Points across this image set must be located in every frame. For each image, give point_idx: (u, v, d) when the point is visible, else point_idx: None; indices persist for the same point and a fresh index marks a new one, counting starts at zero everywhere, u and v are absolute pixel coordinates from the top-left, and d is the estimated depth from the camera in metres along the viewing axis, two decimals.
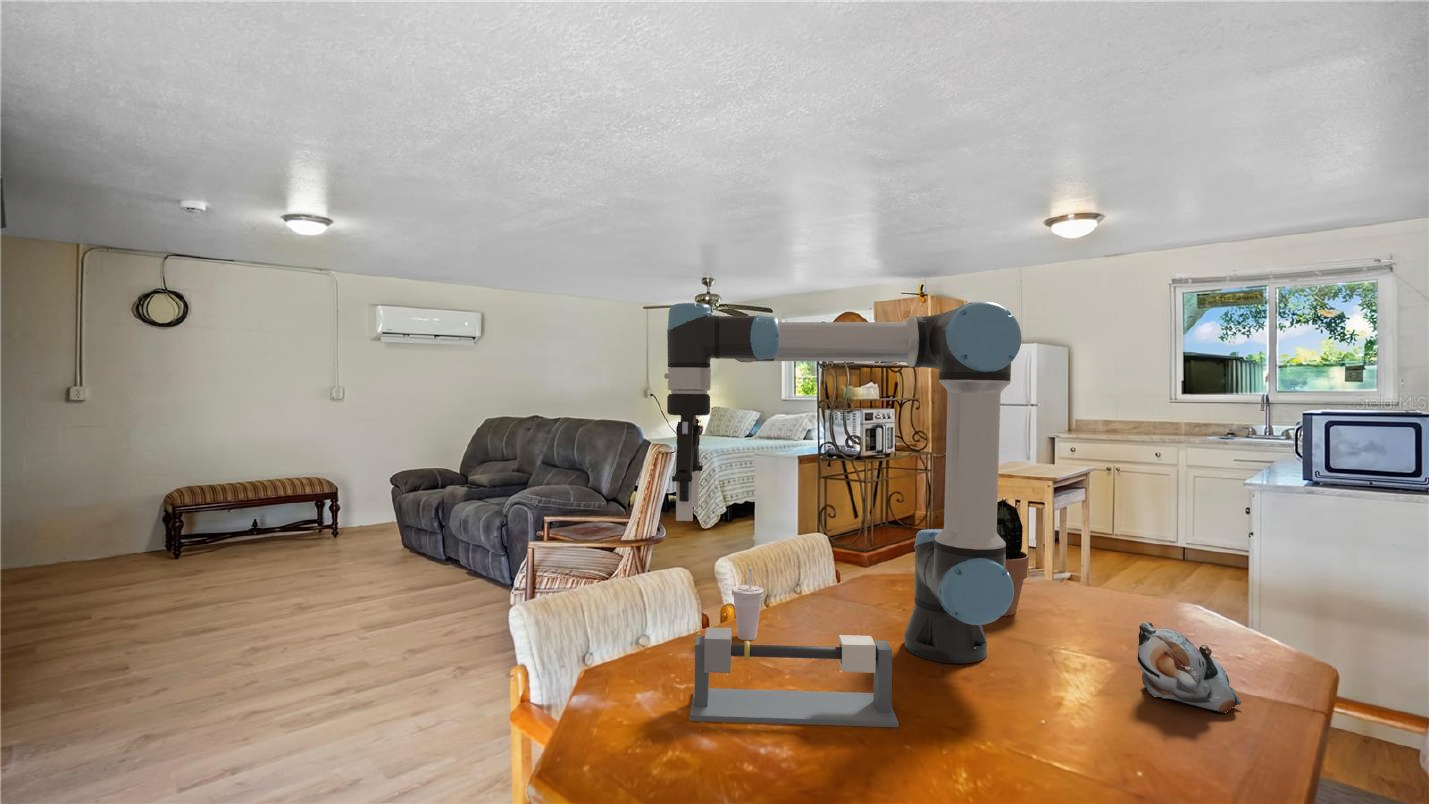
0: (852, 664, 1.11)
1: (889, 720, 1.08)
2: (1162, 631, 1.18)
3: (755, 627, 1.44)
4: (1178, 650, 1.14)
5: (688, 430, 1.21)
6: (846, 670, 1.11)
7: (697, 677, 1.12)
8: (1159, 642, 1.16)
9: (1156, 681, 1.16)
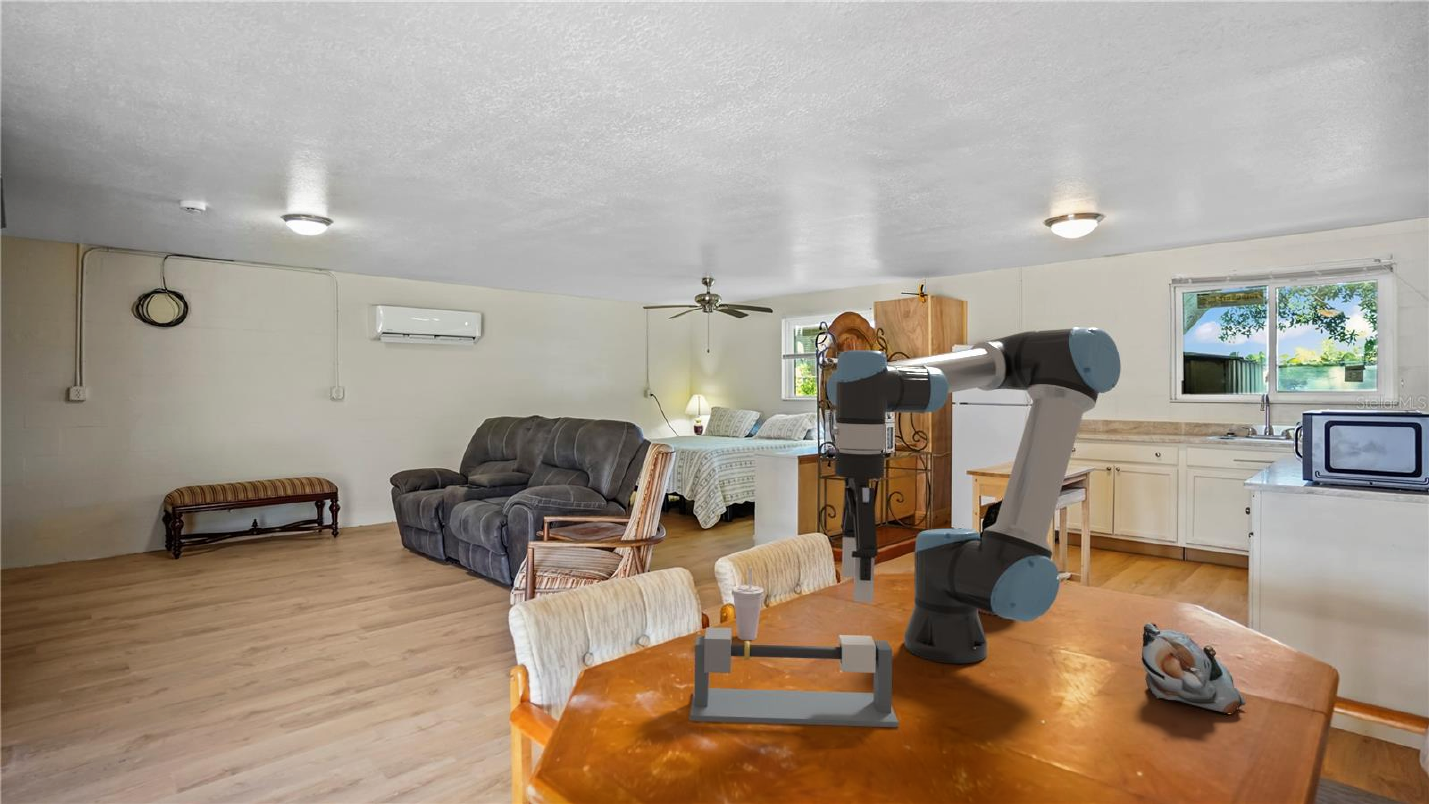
0: (852, 664, 1.11)
1: (889, 720, 1.08)
2: (1166, 632, 1.18)
3: (755, 627, 1.44)
4: (1183, 651, 1.14)
5: (870, 498, 1.05)
6: (846, 670, 1.11)
7: (697, 677, 1.12)
8: (1164, 643, 1.16)
9: (1161, 682, 1.15)
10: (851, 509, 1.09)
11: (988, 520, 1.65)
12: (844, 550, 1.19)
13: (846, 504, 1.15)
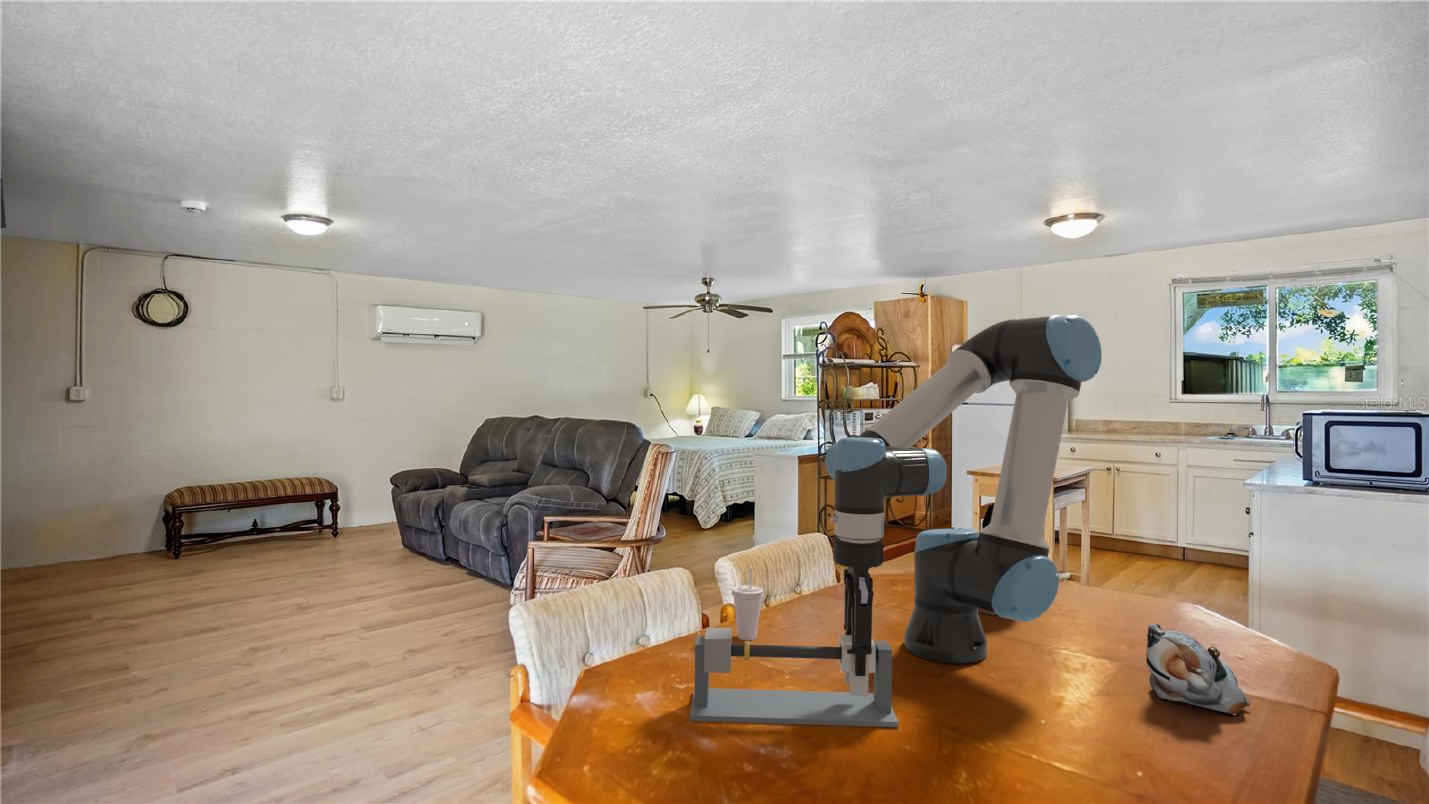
0: None
1: (889, 720, 1.08)
2: (1171, 633, 1.17)
3: (755, 627, 1.44)
4: (1188, 652, 1.13)
5: (868, 601, 1.06)
6: (846, 670, 1.11)
7: (697, 677, 1.12)
8: (1169, 644, 1.15)
9: (1166, 683, 1.15)
10: (849, 602, 1.10)
11: (988, 520, 1.65)
12: None
13: (846, 592, 1.14)
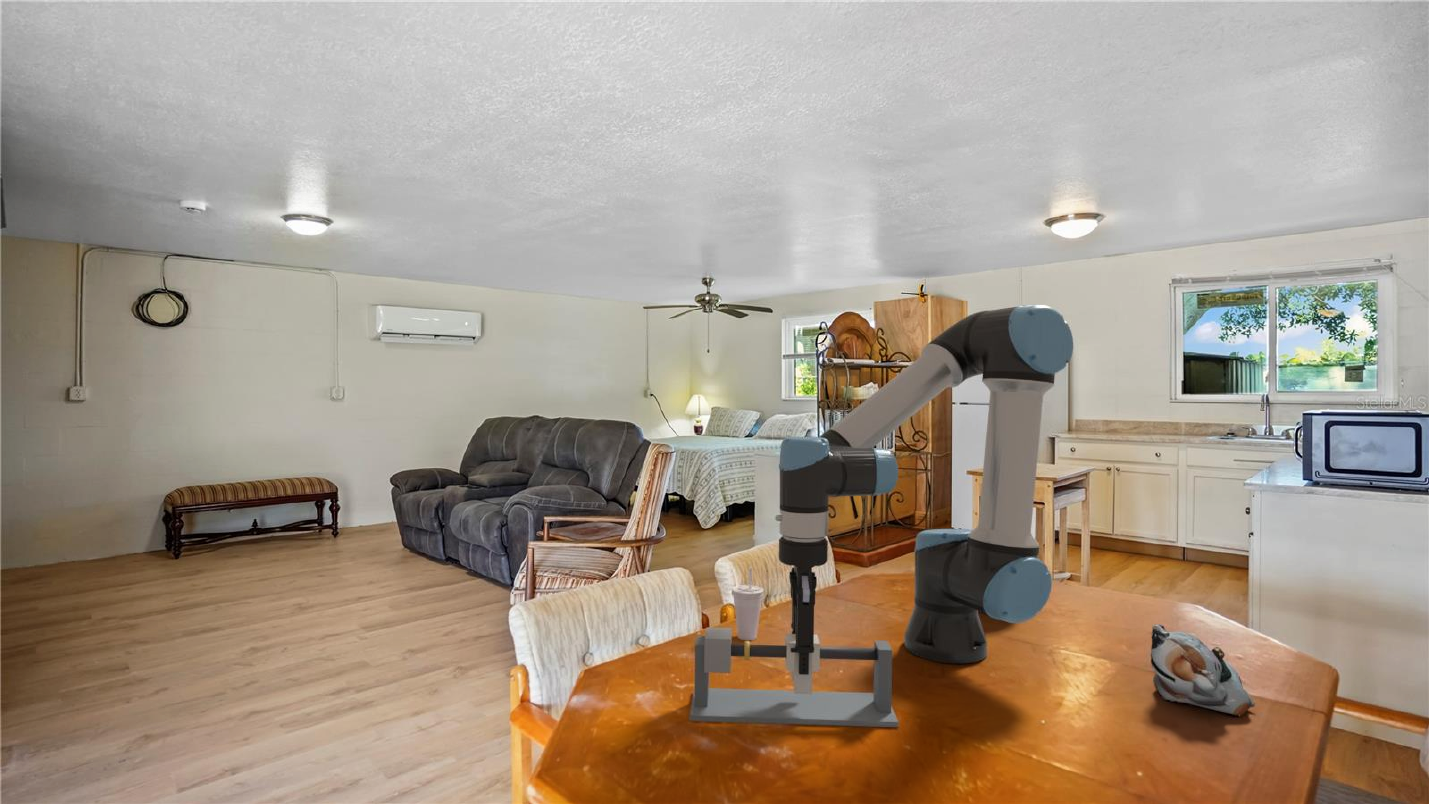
0: None
1: (889, 720, 1.08)
2: (1176, 634, 1.17)
3: (755, 627, 1.44)
4: (1193, 653, 1.13)
5: (810, 600, 1.07)
6: (790, 668, 1.11)
7: (697, 677, 1.12)
8: (1174, 645, 1.15)
9: (1171, 685, 1.14)
10: (793, 601, 1.11)
11: None
12: None
13: (792, 591, 1.14)
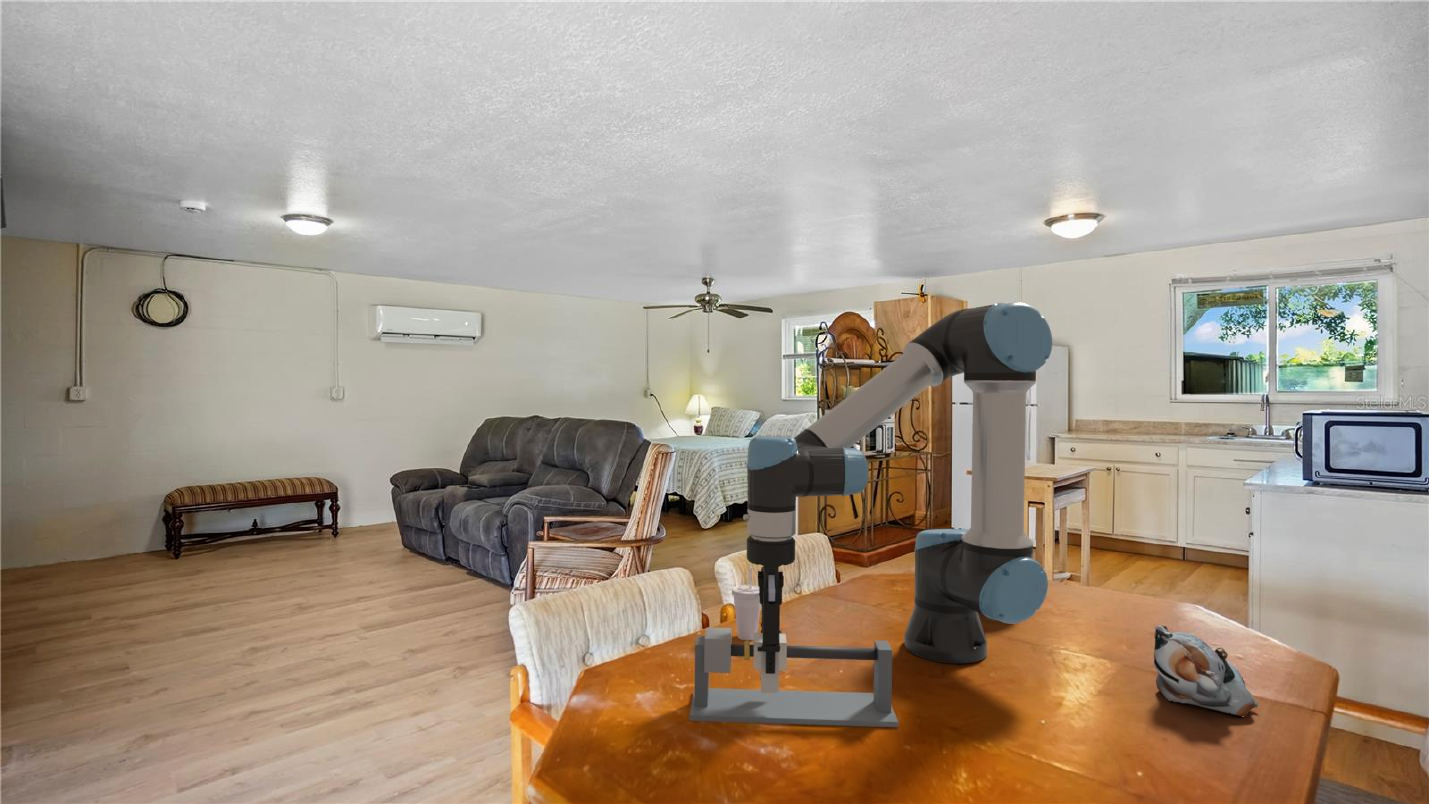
0: None
1: (889, 720, 1.08)
2: (1179, 634, 1.17)
3: (755, 627, 1.44)
4: (1197, 653, 1.12)
5: (775, 599, 1.07)
6: (757, 667, 1.11)
7: (697, 677, 1.12)
8: (1178, 646, 1.15)
9: (1174, 685, 1.14)
10: (760, 600, 1.11)
11: None
12: None
13: None
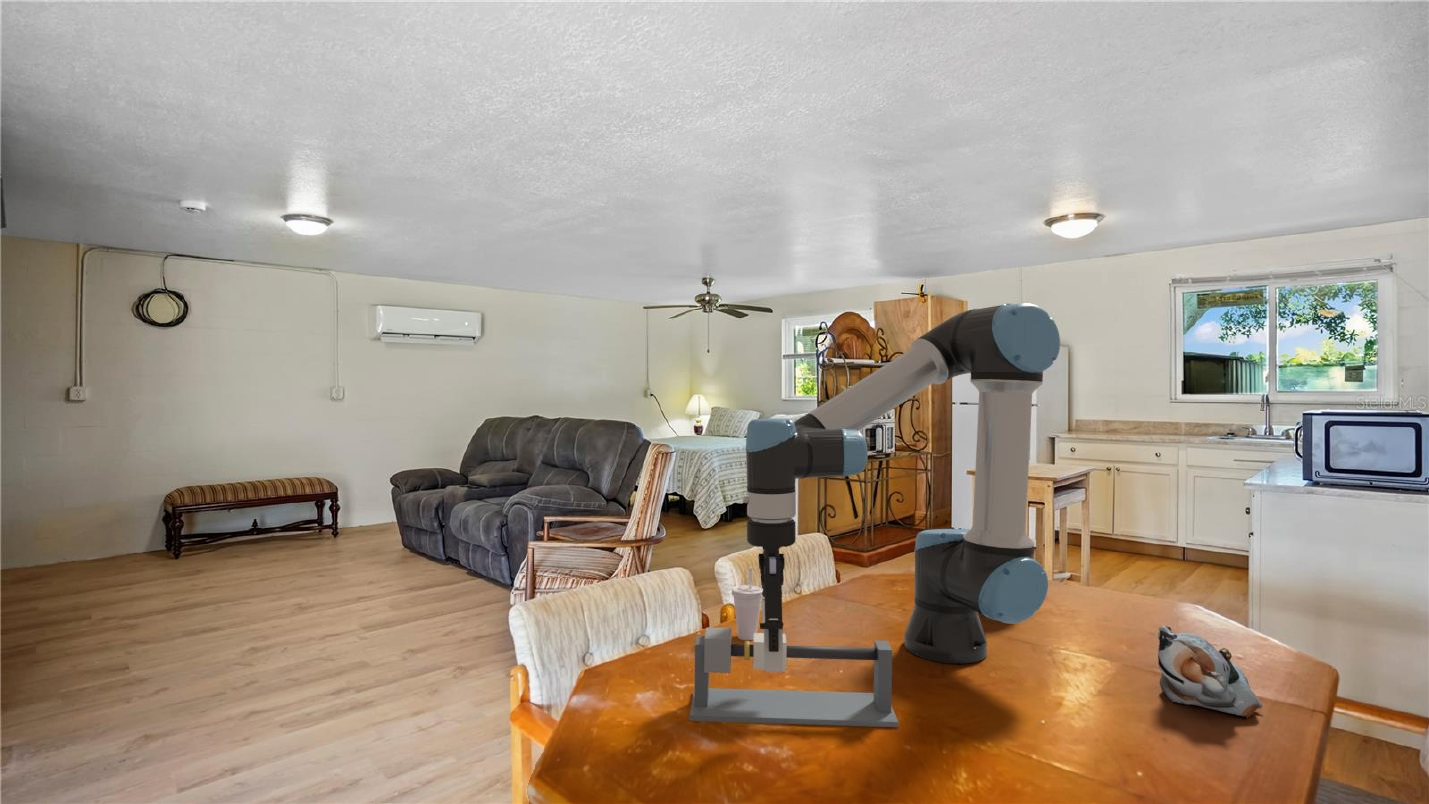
0: (763, 662, 1.11)
1: (889, 720, 1.08)
2: (1183, 635, 1.16)
3: (755, 627, 1.44)
4: (1202, 654, 1.12)
5: (776, 569, 1.06)
6: (757, 667, 1.11)
7: (697, 677, 1.12)
8: (1183, 647, 1.14)
9: (1179, 687, 1.14)
10: (761, 578, 1.10)
11: None
12: (763, 612, 1.20)
13: None
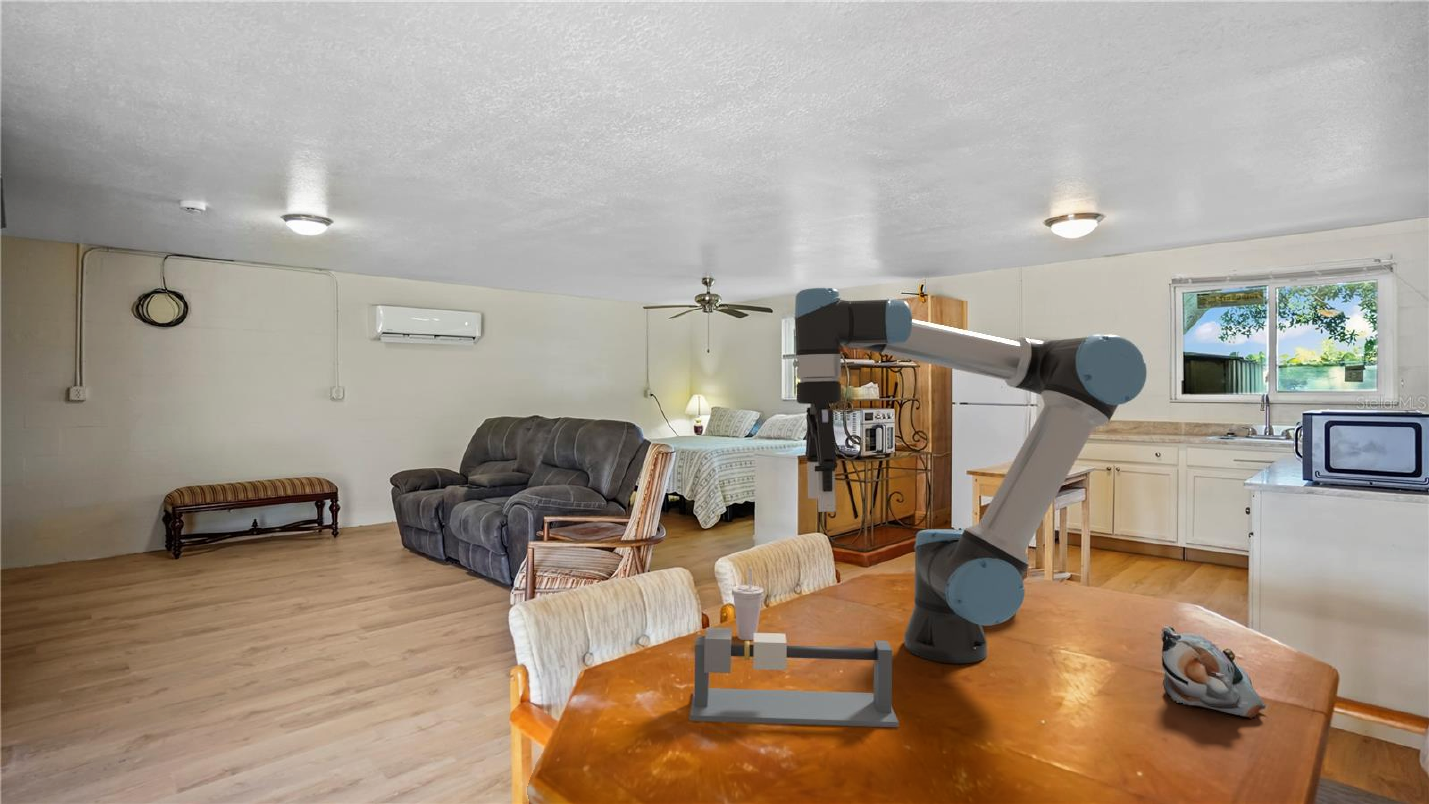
0: (763, 662, 1.11)
1: (889, 720, 1.08)
2: (1187, 636, 1.16)
3: (755, 627, 1.44)
4: (1206, 655, 1.12)
5: (828, 418, 1.17)
6: (757, 667, 1.11)
7: (697, 677, 1.12)
8: (1187, 648, 1.14)
9: (1183, 688, 1.13)
10: (813, 431, 1.21)
11: None
12: (809, 473, 1.31)
13: (809, 430, 1.27)
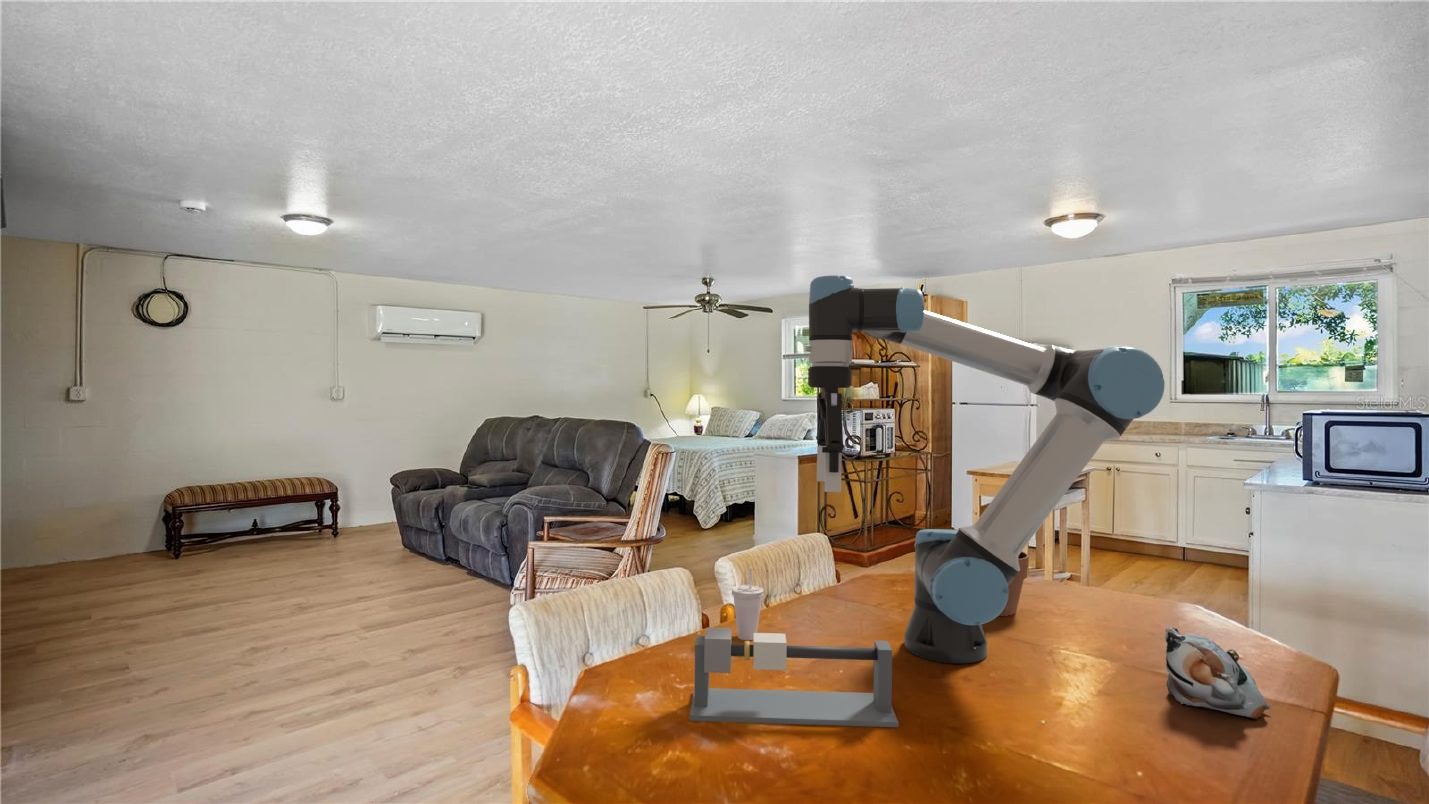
0: (763, 662, 1.11)
1: (889, 720, 1.08)
2: (1191, 637, 1.16)
3: (755, 627, 1.44)
4: (1212, 656, 1.11)
5: (837, 401, 1.21)
6: (757, 667, 1.11)
7: (697, 677, 1.12)
8: (1191, 649, 1.13)
9: (1188, 689, 1.13)
10: (822, 414, 1.24)
11: None
12: (818, 457, 1.35)
13: (819, 414, 1.30)
